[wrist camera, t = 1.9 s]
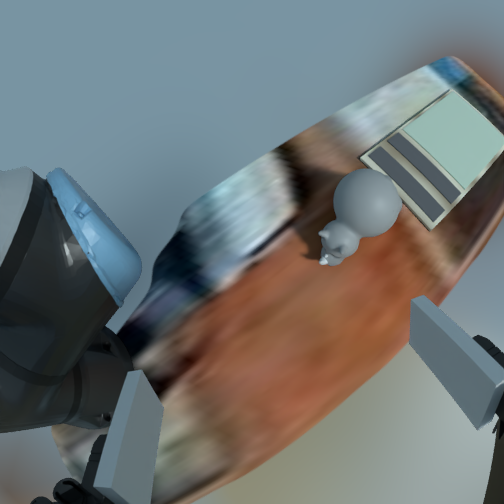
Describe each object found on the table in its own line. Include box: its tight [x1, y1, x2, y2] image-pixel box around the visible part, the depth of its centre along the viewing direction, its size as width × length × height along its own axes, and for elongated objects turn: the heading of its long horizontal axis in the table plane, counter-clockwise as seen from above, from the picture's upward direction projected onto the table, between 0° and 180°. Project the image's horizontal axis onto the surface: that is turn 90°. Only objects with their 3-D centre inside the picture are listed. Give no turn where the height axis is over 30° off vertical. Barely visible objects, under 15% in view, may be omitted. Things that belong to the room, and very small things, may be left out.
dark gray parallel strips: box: [368, 132, 461, 222], centre depth 36 cm, size 6×12×1 cm, turn 36°
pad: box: [403, 91, 504, 190], centre depth 36 cm, size 15×12×1 cm
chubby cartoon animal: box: [318, 169, 402, 266], centre depth 33 cm, size 7×12×8 cm, turn 133°
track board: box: [360, 89, 504, 231], centre depth 36 cm, size 24×13×1 cm, turn 126°
